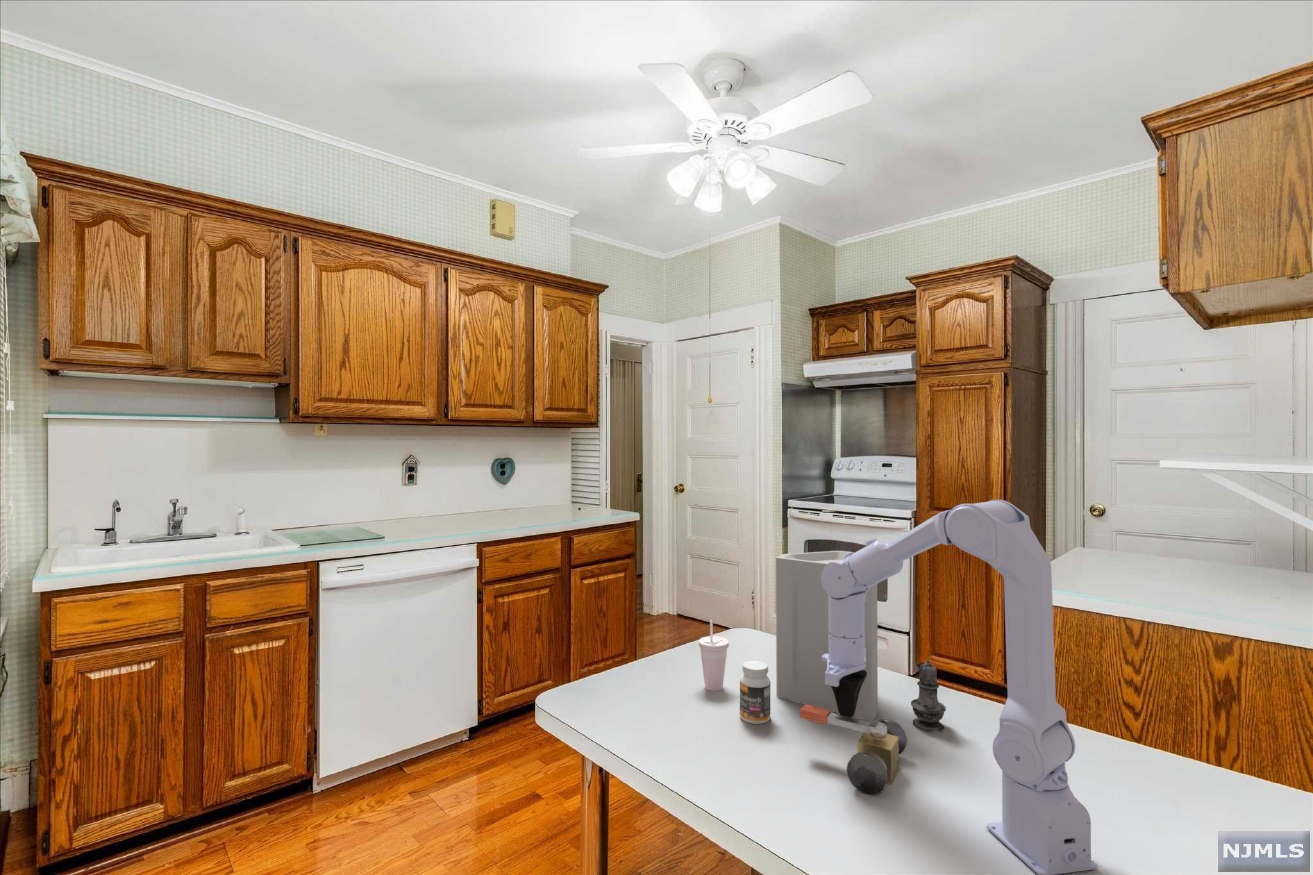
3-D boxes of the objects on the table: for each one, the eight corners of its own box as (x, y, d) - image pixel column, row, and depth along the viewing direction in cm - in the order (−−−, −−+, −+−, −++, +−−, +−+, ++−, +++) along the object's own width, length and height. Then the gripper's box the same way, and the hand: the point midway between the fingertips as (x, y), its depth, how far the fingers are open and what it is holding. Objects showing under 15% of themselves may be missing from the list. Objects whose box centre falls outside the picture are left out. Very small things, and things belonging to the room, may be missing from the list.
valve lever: (888, 733, 96) (888, 724, 96) (884, 740, 94) (884, 730, 94) (805, 712, 104) (805, 703, 104) (799, 717, 101) (799, 709, 101)
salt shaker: (950, 734, 108) (949, 666, 108) (914, 731, 109) (914, 663, 109) (941, 719, 114) (941, 654, 114) (907, 716, 115) (907, 652, 115)
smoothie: (693, 684, 130) (692, 618, 130) (719, 678, 133) (719, 614, 133) (708, 695, 124) (707, 626, 124) (735, 690, 127) (734, 622, 127)
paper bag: (893, 693, 125) (892, 556, 125) (871, 721, 113) (870, 569, 113) (803, 673, 136) (803, 546, 136) (774, 696, 124) (774, 557, 124)
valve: (885, 800, 88) (885, 761, 88) (846, 788, 92) (846, 750, 92) (906, 757, 100) (906, 723, 100) (871, 748, 103) (871, 714, 103)
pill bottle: (735, 721, 113) (735, 667, 113) (745, 708, 118) (745, 657, 118) (765, 727, 111) (764, 672, 111) (774, 715, 116) (774, 662, 116)
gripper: (837, 618, 110) (838, 694, 110) (806, 640, 98) (806, 725, 98) (878, 625, 106) (878, 704, 106) (850, 649, 94) (850, 737, 94)
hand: (846, 715), depth 102 cm, fingers closed
